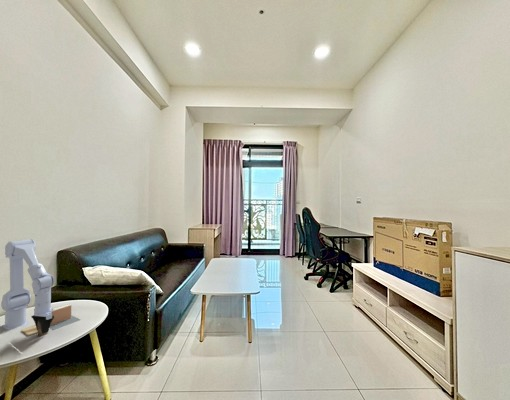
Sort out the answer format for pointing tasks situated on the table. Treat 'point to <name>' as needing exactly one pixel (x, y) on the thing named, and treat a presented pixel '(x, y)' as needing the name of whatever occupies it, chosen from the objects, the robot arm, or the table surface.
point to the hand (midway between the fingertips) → (42, 330)
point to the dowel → (40, 331)
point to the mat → (64, 323)
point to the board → (30, 330)
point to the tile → (61, 314)
